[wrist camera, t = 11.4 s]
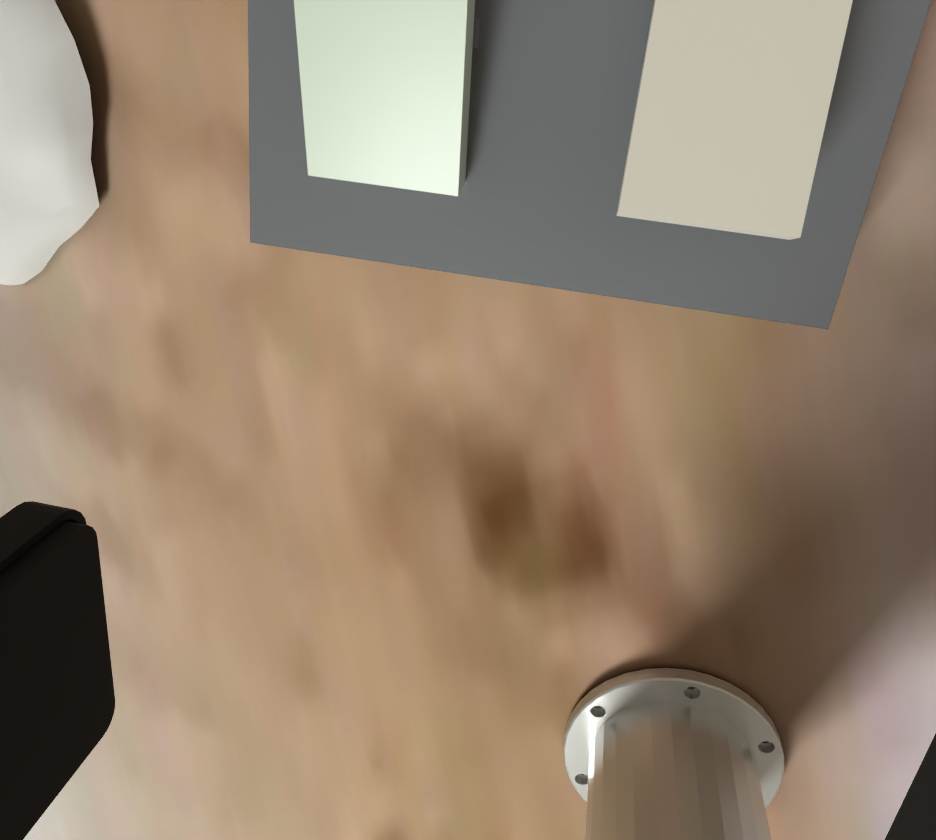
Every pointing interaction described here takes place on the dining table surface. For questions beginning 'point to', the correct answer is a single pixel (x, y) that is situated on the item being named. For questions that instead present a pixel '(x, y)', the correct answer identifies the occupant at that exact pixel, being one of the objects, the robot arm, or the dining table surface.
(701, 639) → the dining table surface
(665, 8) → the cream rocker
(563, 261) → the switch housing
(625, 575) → the dining table surface
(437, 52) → the sage rocker
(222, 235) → the dining table surface
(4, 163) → the figurine
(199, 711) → the dining table surface
